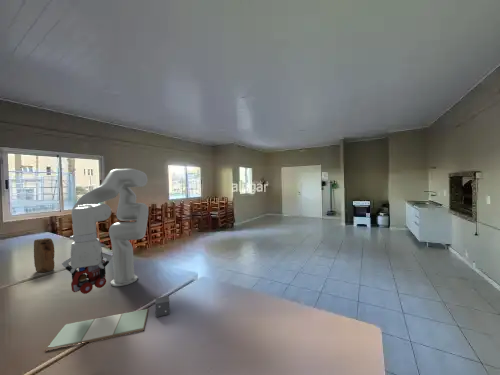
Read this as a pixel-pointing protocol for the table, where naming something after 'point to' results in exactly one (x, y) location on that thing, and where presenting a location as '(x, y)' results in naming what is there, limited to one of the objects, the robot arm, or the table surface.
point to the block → (44, 255)
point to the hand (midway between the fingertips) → (89, 279)
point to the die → (162, 306)
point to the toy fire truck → (86, 284)
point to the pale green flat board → (101, 328)
